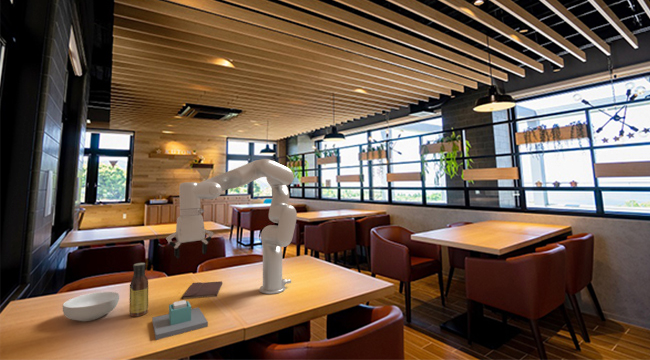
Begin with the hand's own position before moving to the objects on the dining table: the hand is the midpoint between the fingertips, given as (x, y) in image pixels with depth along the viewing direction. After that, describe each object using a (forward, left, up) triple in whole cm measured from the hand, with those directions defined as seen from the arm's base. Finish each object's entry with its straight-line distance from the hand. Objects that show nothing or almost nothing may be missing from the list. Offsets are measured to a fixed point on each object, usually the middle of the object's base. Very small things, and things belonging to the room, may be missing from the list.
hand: (191, 255), depth 112 cm
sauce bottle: (+17, -12, -23) cm, 31 cm away
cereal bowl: (+32, -20, -23) cm, 44 cm away
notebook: (-10, -26, -24) cm, 36 cm away
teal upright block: (+5, +7, -21) cm, 23 cm away
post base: (+5, +7, -23) cm, 24 cm away
